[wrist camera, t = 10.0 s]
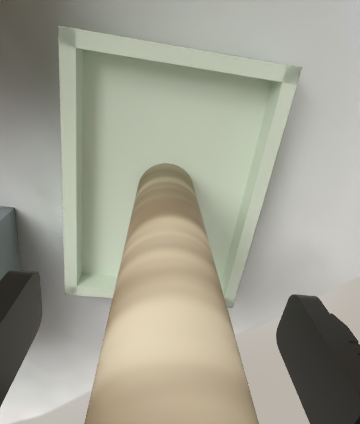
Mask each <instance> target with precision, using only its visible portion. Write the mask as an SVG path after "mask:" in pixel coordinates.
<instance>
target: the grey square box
mask: <svg viewBox="0 0 360 424" xmlns="http://www.w3.org/2000/svg"><path fill="white" fill-rule="evenodd" d="M10 270H18V271H21V266H20V257H19V247H18V237H17V227H16V217H15V208H10V207H1V206H0V281H1V279H2V278H3V277H4V276H5V274H6V273H7V272H8V271H10Z"/></svg>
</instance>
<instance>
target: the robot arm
mask: <svg viewBox="0 0 360 424" xmlns="http://www.w3.org/2000/svg"><path fill="white" fill-rule="evenodd" d="M41 317H42V302H41V288H40V276H39V273H38V272H30V271H18V270H10V271H8V272H7V273H6V274H5V276H4V277H3V278H2V279H1V281H0V406H1V404H2V402H3V400H4V398H5V396H6V394H7V392H8V390H9V388H10V386H11V384H12V382H13V380H14V378H15V376H16V374H17V372H18V370H19V368H20V366H21V364H22V362H23V360H24V358H25V356H26V354H27V352H28V350H29V348H30V346H31V344H32V342H33V340H34V338H35V336H36V334H37V331H38V329H39V326H40V322H41ZM276 337H277V345H278V348H279V351H280V353H281V356H282V358H283V360H284V363H285V365H286V367H287V370H288V372H289V375H290V377H291V379H292V382H293V384H294V386H295V389H296V391H297V394H298V396H299V398H300V401H301V403H302V406H303V408H304V410H305V413H306V415H307V417H308V419H309V422H310V424H360V345H359V344H358V340H357V339H356V338H355V336H354V335H353V333H352V332H351V331H350V329H349V328H348V327H347V326H346V325H345V324H344V323H343V322H341V321H340V320H339V319H338V318H337V317H336V316H334V315H333V314H329V312H328V311H327V309H326V308H325V306H324V305H323V304H322V302H321V301H320V300H319V298H318V297H316V296H306V295H291V296H290V297H289V299H288V302H287V304H286V307H285V310H284V312H283V315H282V317H281V320H280V322H279V325H278V328H277V333H276Z"/></svg>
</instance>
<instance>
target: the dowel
mask: <svg viewBox="0 0 360 424" xmlns="http://www.w3.org/2000/svg"><path fill="white" fill-rule="evenodd" d="M85 424H259V423H258V419H257V416H256V412H255V408H254V405H253V401H252V397H251V394H250V390H249V386H248V383H247V379H246V376H245V372H244V368H243V364H242V361H241V357H240V354H239V350H238V346H237V343H236V339H235V335H234V332H233V328H232V324H231V321H230V317H229V313H228V310H227V306H226V303H225V299H224V295H223V292H222V288H221V284H220V281H219V277H218V273H217V270H216V266H215V262H214V259H213V255H212V252H211V248H210V244H209V241H208V237H207V233H206V230H205V226H204V222H203V219H202V215H201V211H200V208H199V204H198V201H197V197H196V193H195V190H194V186H193V183H192V180H191V178H190V176H189V174H188V173H187V172H186V171H185V170H184V169H182V168H181V167H179V166H177V165H174V164H169V163H163V164H157V165H154V166H152V167H151V168H149V169H148V170H147V171H145V173H144V174H143V175H142V177H141V178H140V181H139V184H138V188H137V193H136V197H135V202H134V206H133V210H132V215H131V219H130V224H129V228H128V233H127V237H126V241H125V246H124V250H123V255H122V259H121V264H120V268H119V273H118V277H117V281H116V286H115V290H114V295H113V299H112V304H111V308H110V313H109V317H108V321H107V326H106V330H105V335H104V339H103V344H102V348H101V353H100V357H99V361H98V366H97V370H96V375H95V379H94V384H93V388H92V393H91V397H90V401H89V406H88V411H87V415H86V419H85Z"/></svg>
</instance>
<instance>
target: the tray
mask: <svg viewBox="0 0 360 424" xmlns="http://www.w3.org/2000/svg"><path fill="white" fill-rule="evenodd" d="M58 45H59V84H60V123H61V161H62V200H63V239H64V277H65V295H78V296H91V297H104V298H113V295H114V290H115V286H116V281H117V277H118V273H119V268H120V264H121V259H122V255H123V250H124V246H125V241H126V237H127V233H128V228H129V224H130V219H131V215H132V210H133V206H134V202H135V197H136V193H137V188H138V184H139V181H140V178H141V177H142V175H143V174H144V173H145V171H147V170H148V169H149V168H151V167H152V166H154V165H157V164H163V163H169V164H174V165H177V166H179V167H181V168H182V169H184V170H185V171H186V172H187V173H188V174H189V176H190V178H191V180H192V183H193V186H194V190H195V193H196V197H197V201H198V204H199V208H200V211H201V215H202V219H203V222H204V226H205V230H206V233H207V237H208V241H209V244H210V248H211V252H212V255H213V259H214V262H215V266H216V270H217V273H218V277H219V281H220V284H221V288H222V292H223V295H224V299H225V303H226V306H227V307H233V305H234V301H235V298H236V294H237V291H238V288H239V284H240V281H241V277H242V274H243V270H244V267H245V263H246V260H247V256H248V253H249V249H250V246H251V243H252V239H253V236H254V232H255V229H256V225H257V222H258V218H259V215H260V211H261V208H262V205H263V201H264V198H265V194H266V191H267V187H268V184H269V180H270V177H271V173H272V170H273V166H274V163H275V160H276V156H277V153H278V149H279V146H280V142H281V139H282V135H283V132H284V128H285V125H286V122H287V118H288V115H289V111H290V108H291V104H292V101H293V97H294V94H295V90H296V87H297V84H298V80H299V77H300V73H301V70H302V67H296V66H290V65H284V64H279V63H273V62H267V61H261V60H256V59H250V58H244V57H238V56H232V55H227V54H221V53H215V52H209V51H203V50H198V49H192V48H186V47H180V46H175V45H169V44H163V43H157V42H151V41H146V40H140V39H134V38H128V37H123V36H117V35H111V34H105V33H99V32H94V31H88V30H82V29H76V28H70V27H65V26H59V25H58Z"/></svg>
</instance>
